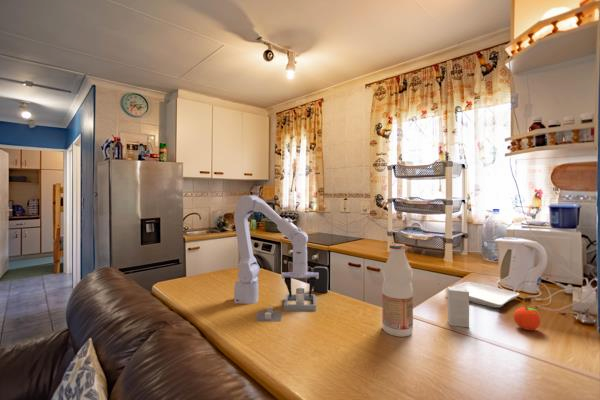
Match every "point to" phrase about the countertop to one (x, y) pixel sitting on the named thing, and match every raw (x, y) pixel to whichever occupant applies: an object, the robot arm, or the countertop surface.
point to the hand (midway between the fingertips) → (300, 296)
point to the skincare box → (458, 306)
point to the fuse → (300, 296)
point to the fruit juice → (397, 293)
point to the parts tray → (300, 307)
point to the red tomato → (527, 318)
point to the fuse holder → (269, 315)
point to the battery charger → (321, 279)
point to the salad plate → (487, 294)
